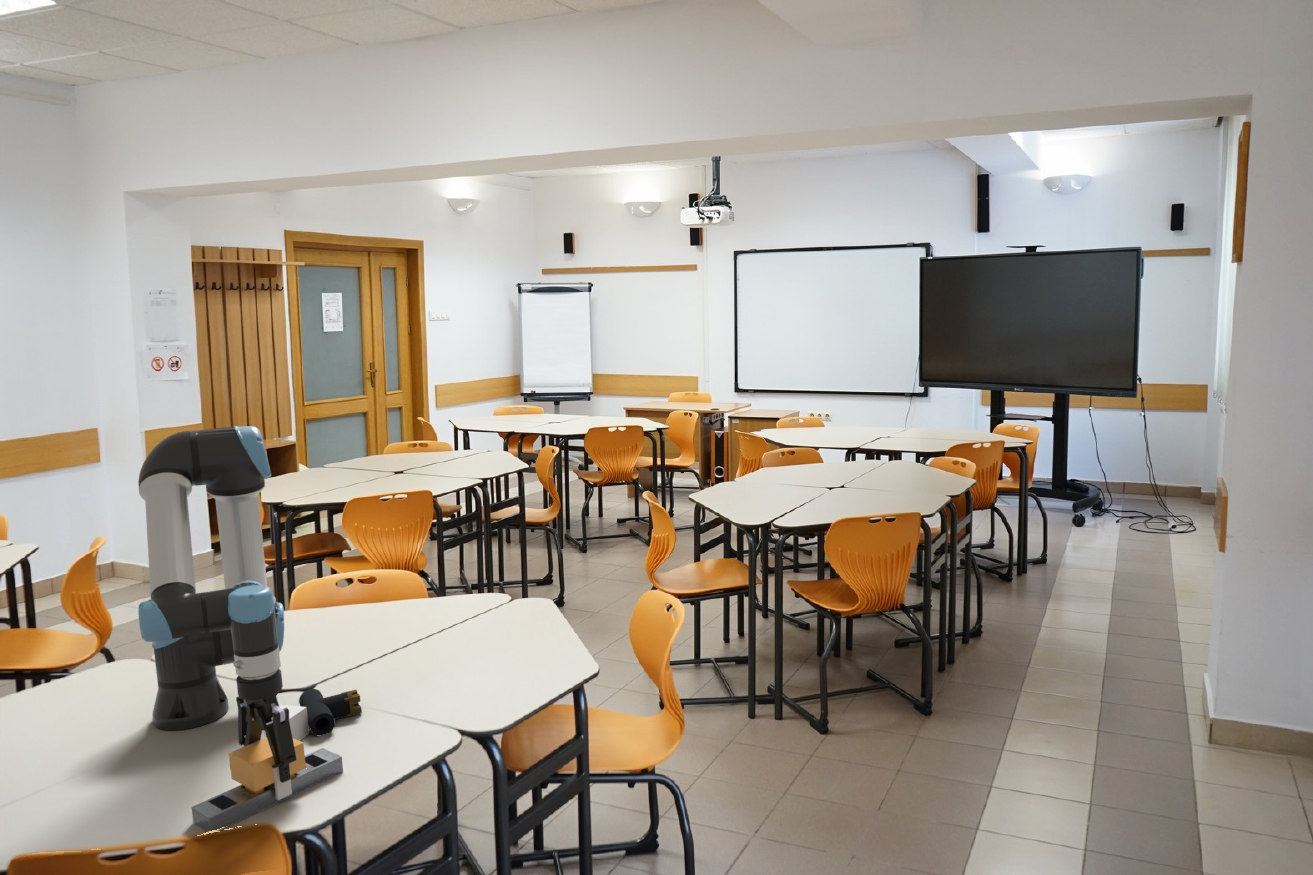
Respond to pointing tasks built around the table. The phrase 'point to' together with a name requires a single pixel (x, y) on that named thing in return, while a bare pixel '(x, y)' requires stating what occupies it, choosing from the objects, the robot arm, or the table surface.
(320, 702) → the pipe connector
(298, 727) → the white cube
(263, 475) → the robot arm
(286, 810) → the table surface
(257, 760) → the tan notched block
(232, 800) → the rail
